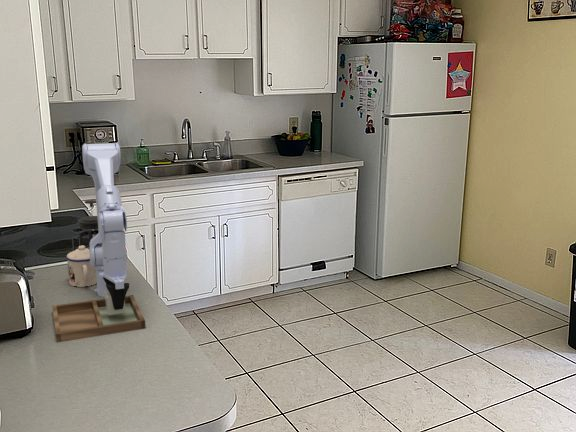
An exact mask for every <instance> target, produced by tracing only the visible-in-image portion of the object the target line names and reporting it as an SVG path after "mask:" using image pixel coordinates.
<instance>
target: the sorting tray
mask: <svg viewBox="0 0 576 432" xmlns="http://www.w3.org/2000/svg"><path fill="white" fill-rule="evenodd" d="M51 307H52V315H53V323H54V331H55V338H56V340H55V341H56V343H60V342H66V341H73V340H79V339H86V338H93V337H97V336H98V337H100V336H104V335H105V336H106V335H111V334H117V333H118V334H119V333H124V332H125V333H126V332H130V331H137V330H143V329H147V327H146V320H145V318H144V316H143V313H142V311H141V309H140V307H139V305H138V302H137V300H136V298H135V297H134V294H129V295H126V296H125V309H126V312H125V313H119V314H113V315H108V313H107V310H106V303H105V298H100V299H92V300H86V301H85V300H84V301H79V302H78V301H76V302H70V303H63V304H56V305H55V304H54V305H51Z"/></svg>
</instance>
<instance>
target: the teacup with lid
mask: <svg viewBox="0 0 576 432" xmlns="http://www.w3.org/2000/svg"><path fill="white" fill-rule="evenodd" d="M87 248H88V247H86V246H85V245H83V244H82V245H81V246H78V248H75V251H73V250H72V251H70V252H68V253H67V255H66V257H65V258H66V261H67V270H68V272H67V273H68V282H69V285H70V286H72V287H74V286H77V287H76V288H86V287H85V286H88V287H92V286H94V285H97V279H96V268H95V267H93V266H91V262H90V250H89V249H87ZM91 285H92V286H91Z"/></svg>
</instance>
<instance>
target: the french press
mask: <svg viewBox="0 0 576 432" xmlns="http://www.w3.org/2000/svg"><path fill="white" fill-rule="evenodd" d="M83 203H84V204H88V205H89V207H90V211H91V212H90V213H91V215H88V216H83V217H81V218H78V219H77V223H78V224H79V225H78V226H79V228H80V229H82V230H85V231H82V232H80V233H79V234H78V235H74V236H72V237H71V240H72V241H71V242H72V251H75V250H76V248H75V247H76V246H75V239H78V244H79V246H81V242H82V243H83V242H84V243H88V246H89V247H86V248H87V249H90V244H89V243H90V240H91V239H92V238H93V237H94V236H95V235H97V234H98V233H99V231H98V219H97V215H94V214H93V213H94V212H93V211H94V210H93V208H94V204H96V199H88V200H85V201H84V202H83ZM85 236H88V237H85ZM96 245H100V243H98V244H96ZM79 246H78V247H79Z"/></svg>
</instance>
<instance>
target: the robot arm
mask: <svg viewBox="0 0 576 432" xmlns="http://www.w3.org/2000/svg"><path fill="white" fill-rule="evenodd" d="M81 147H82V148H81V149H82V150H81V151H82V152H81V153H82V162H83V164H82V165H83V170H84V173H85V174H86V175H89V176H91V177H92V180H93V182H94V193H95V200H96V203H95V206H96V216H97V219H98V229H97V230H98V231H99V233H98V234H95V235H94V237H93V238H92V239H91V240H90V243H89V242H88V245H89V244H90V249H89V250H90V262H91V266H93V267H95V268H96V279H97V283H96V288H94V290H93V292H95V293H97V296H98V297H101V298H105V293H104V291H109V293H110V295H111V298H112V303H113V306H114V309H115V310H119V309H123V306H124V301H125V296H127V292H128V290H129V288H130V283H129V282H126V283H125V280H126V278H127V277H128V274H129V272H128V268H127V266H128V265H127V262H128V252H127V247H126V246H127V245H126V233H125V232H127V229H128V222H127V221H128V220H127V213H126V211H125V210H126V209H125V208H124V206H123V205H122V204H123V203H122V198H121V197H122V196H121V191H120V190H119V188H118V187H116V186H115V180H114V179H115V177H114V174H117V173H118V172H119V169H120V165H121V161H122V159H121V158H122V157H121V156H122V154H121V146H120V144H119V143H118V142H112V143H111V142H110V143H107V142H106V143H103V142H102V143H83V144H82V146H81ZM98 243H99V245H96V244H98Z"/></svg>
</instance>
